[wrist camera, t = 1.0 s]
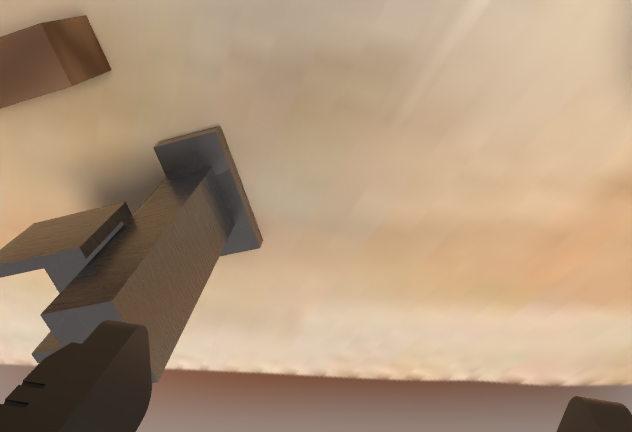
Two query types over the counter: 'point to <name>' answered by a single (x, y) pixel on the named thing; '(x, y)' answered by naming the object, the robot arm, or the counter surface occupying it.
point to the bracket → (141, 250)
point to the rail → (48, 59)
